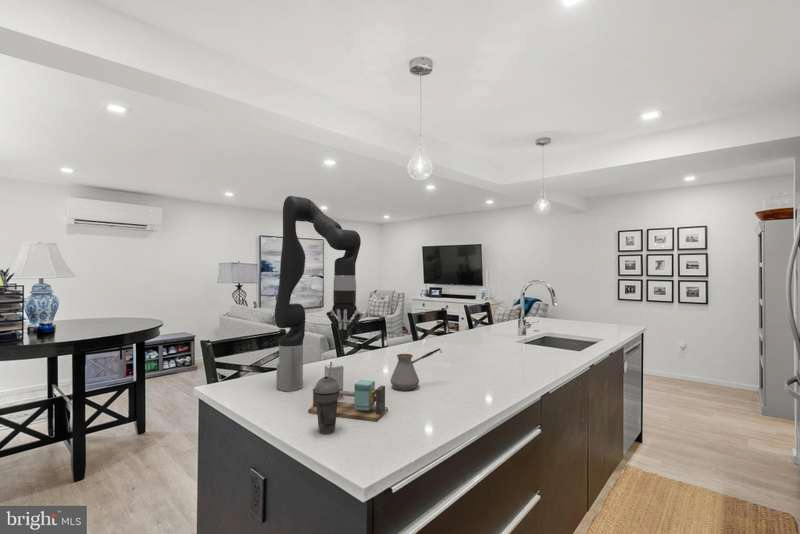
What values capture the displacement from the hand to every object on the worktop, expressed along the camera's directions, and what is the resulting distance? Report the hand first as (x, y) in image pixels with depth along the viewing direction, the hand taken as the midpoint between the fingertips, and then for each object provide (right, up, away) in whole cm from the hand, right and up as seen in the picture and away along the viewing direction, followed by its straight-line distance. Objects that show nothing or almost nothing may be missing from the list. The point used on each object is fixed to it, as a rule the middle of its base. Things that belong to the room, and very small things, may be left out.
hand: (344, 340), depth 131 cm
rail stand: (+2, -23, -3) cm, 23 cm away
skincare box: (-5, -23, +11) cm, 26 cm away
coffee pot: (+25, -24, +25) cm, 43 cm away
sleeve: (+7, -21, -5) cm, 22 cm away
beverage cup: (-2, -23, -18) cm, 29 cm away
